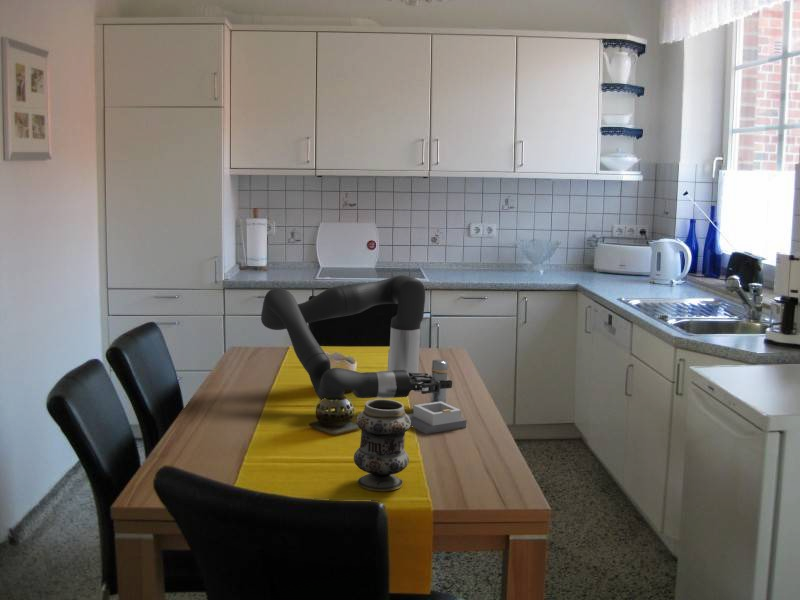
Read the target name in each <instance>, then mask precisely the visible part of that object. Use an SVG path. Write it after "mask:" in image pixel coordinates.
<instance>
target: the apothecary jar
mask: <svg viewBox="0 0 800 600" xmlns="http://www.w3.org/2000/svg"><path fill="white" fill-rule="evenodd" d="M407 414H408V413H406V411H405V405H404V404H403V403H402V402H400V401H397V400H394V399H390V398H375V399H374V398H373V399H370V400H367V401H365V404H364V408H363V410H362V411H361V412H360V413H358V415H357V416H356V422H355V423H356V426H357V427H358V429H360V430H361V433H360V445H359V447H358V448H357V449H356V450H355V452H354V455H353V462H354V465H356V466H357V468H358V469H360V470H361V471H363V472H365V473H368V474H365V475H362V476H361V477H359V478H358V480H357V485H359V487H361V488H363V489H365V490H368V491H372V492H392V491H396V489H397V490H400V489H401V488H402V487H403V485H404V481H403V480H402V479H401V478H399V477H398V475H396V474H398V473H401V472H403V471H404V470H405V469H406V468H407V466H408V465H409V464H410V463H409V462H410V456H409V454H408V453H407V451H406V450H405V439H406V438H405V437H406V432H407V431H409V429H410V428H411V420H410V418H409V416H408V415H407ZM401 486H402V487H401ZM400 487H401V488H400Z"/></svg>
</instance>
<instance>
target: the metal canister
mask: <svg viewBox="0 0 800 600" xmlns="http://www.w3.org/2000/svg"><path fill="white" fill-rule="evenodd" d="M431 362H432V363H431V375H432V379H431V380H448V375H449V374H448V372H449V361H448V360H445V359H433V360H432V361H431ZM434 387H435V386H434ZM447 390H448V388H445V389H440V391H439V392H434V393H430V400H429V401H430V402H429V403H433V402H440V401H442V402H444V403H446V404H447Z"/></svg>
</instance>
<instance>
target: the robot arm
mask: <svg viewBox="0 0 800 600" xmlns="http://www.w3.org/2000/svg"><path fill="white" fill-rule="evenodd" d="M386 304H387V305H389V304H396V305H397V312H396V315H395V316H393V317H392V318H391V320H390V337H389V338H390V339H389V349H388V350H387V352H388V356H387V370H379V371H371V372H369V371H366V372H359V371H355V370H353V369H352V370H351V369H347V368H342V367H332V368H331V360H330V358H329V356H328V355H327V354H326V352H325V351H324V350H323V347H321V345H320V343H318V341H317V339H316V338H315V336H314V334H313V333H312V331H311V329H310V327H309V325H308V324H309V323H313V322H318V321H323V320H327V319H328V320H329V319H334V318H342V317H346V316H352V315H353V316H354V315H357V314H360V313H362V312H364V311H366V310H368V309H370V308H373V307H374V306H379V305H386ZM425 304H426V288H425V284H423V282H422V281H421V280H420V279H418V278H415V277H412V276H409V275H404V274H402V275H397V276H394V277H393V276H392V277H389V278H386V279H385V278H384V279H382V280H381V279H380V280H378V281H373V282H361V283H360V282H359V283H352V284H351V283H349V284H343V285H338V286H332V287H329V288H327V289H325V290H324V291H321V292H320V293H318V294H317V295H315V296H313V297H312V298H310V299H309V300H306V301H305V302H302V303H301V302H300V303H298V301H296V297H295V296H294V295H293V294H292V292H290V291H289V290H287V289H286V288H285V289H284V288H281V287H274V288H272V289H269V291H267V293H266V294H265V296H264V299H263V302H262V309H261V314H260V315H261V316H260V320H261V323H262V325H263V326H264V327H265V328H267V329H270V330H273V331H283V330H286V331H287V333H288V336H289V338H290V341H291V346H292V347H293V351H294V353H295V356H296V357H297V359H298V362H300V364H301V365H302V368H303V369H304V370H305V371H306V372H307V374H308V376H309V379H310V382H311V385H312V387H313V389H314V392H315V393H316V395H317V397H318V399H319V400H320V401H321V400H322V399H324V398H327V397H335V396H336V397H343V398H344V396H345V393H346V390H351V391H352V392H353V395H354V396H355V398H357V399H374V398H375V399H392V398H393V399H394V398H395V399H396V398H397V399H398V398H408V396H409V395H410V392H411V391H414V392H416V393H421V394H422V395H426V394H431V393H434V392H439V391H440V389H445V388H447V389H452V388H453V380H451V379H447V380H431V379H432V374H429V373H425V372H424V373H422V372H421V373H420V372H419V363H420V341H421V323H422V322H423V319H424V314H425ZM434 386H435V387H434Z"/></svg>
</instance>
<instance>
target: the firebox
mask: <svg viewBox="0 0 800 600" xmlns="http://www.w3.org/2000/svg"><path fill="white" fill-rule="evenodd" d="M406 414H407V415H408V416H409V418H410V420H411V426H413V427H414V428H413V427H412V428H413V429H415V430H417V431H419V432H421V433H423V434H425V435H428V434H435V433H441V432H447V431H452V430H459V429H465V428H467V421H468V420H467V419H465V418H462V409H459V408H457V407H455V406H453V405H450V404H448V403H447V402H446V403H444V402H442V401H440V402H433V403H430V402H427V403H420V404H414V405H413V413H406ZM411 426H410V427H411Z"/></svg>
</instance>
